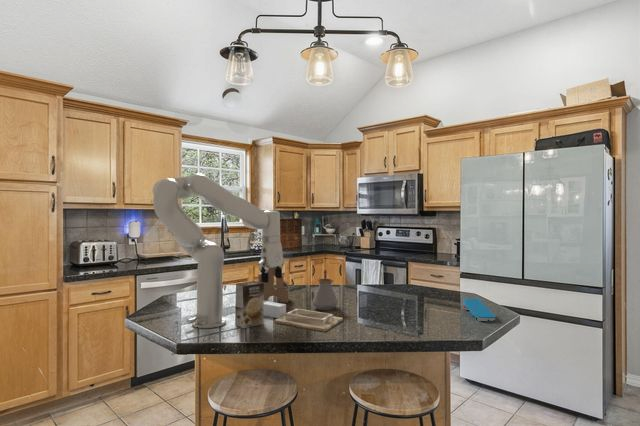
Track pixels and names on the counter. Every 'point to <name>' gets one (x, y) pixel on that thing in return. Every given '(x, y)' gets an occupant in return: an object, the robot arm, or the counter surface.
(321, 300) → the coffee pot
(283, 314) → the white block
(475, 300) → the blue block
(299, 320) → the cradle
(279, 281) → the wooden toy
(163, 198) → the robot arm
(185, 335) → the counter surface
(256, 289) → the coffee box
